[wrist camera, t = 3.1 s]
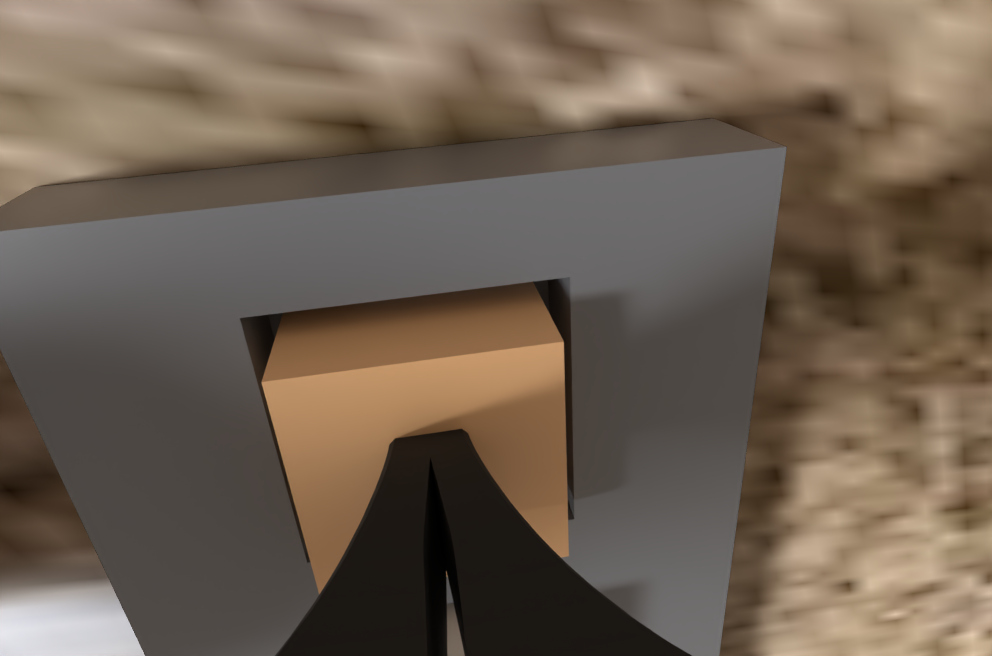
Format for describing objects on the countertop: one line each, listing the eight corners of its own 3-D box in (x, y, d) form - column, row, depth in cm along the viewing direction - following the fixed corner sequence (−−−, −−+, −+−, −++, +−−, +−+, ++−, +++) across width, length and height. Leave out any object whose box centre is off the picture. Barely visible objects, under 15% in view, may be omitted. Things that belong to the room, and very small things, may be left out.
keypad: (302, 864, 25) (293, 967, 22) (34, 187, 13) (-54, 236, 10) (658, 789, 26) (689, 878, 24) (713, 118, 14) (786, 146, 12)
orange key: (330, 495, 16) (320, 597, 13) (285, 304, 13) (261, 382, 11) (538, 463, 16) (568, 556, 14) (529, 274, 14) (564, 341, 11)
